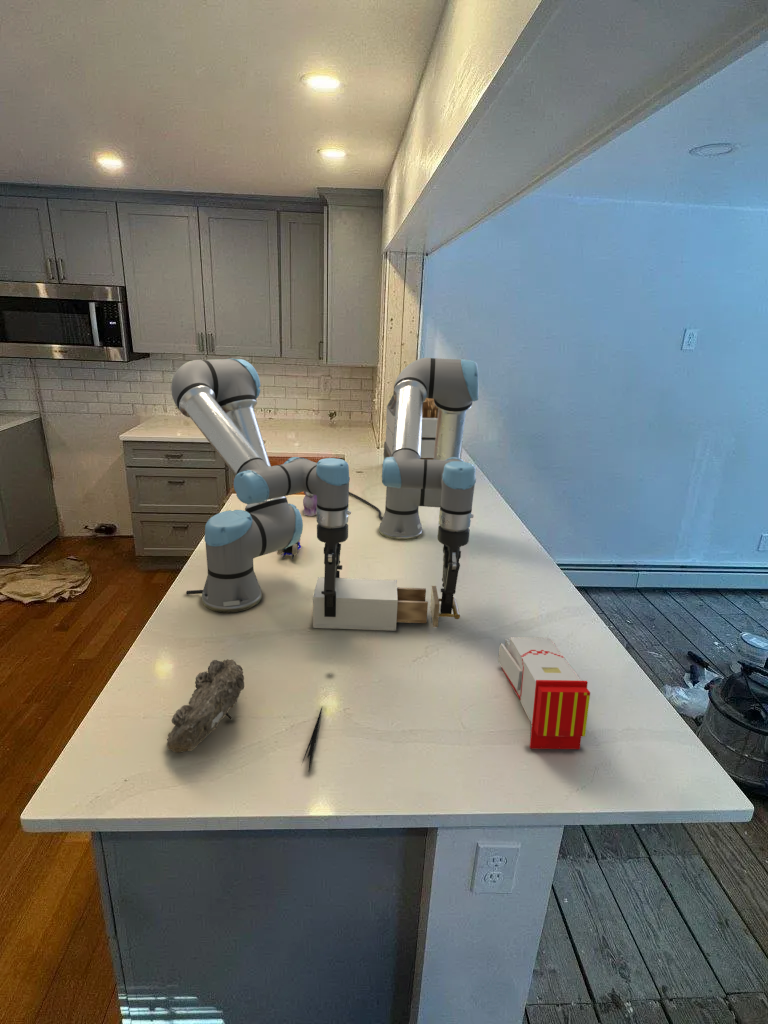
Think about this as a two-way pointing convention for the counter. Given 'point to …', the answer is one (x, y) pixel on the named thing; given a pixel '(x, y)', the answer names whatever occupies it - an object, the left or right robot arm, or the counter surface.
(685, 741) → the counter surface
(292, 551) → the figurine character
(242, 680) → the fossil
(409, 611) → the drawer
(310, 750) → the feather
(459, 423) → the right robot arm
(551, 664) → the toy
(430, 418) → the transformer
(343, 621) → the cabinet
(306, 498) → the figurine
